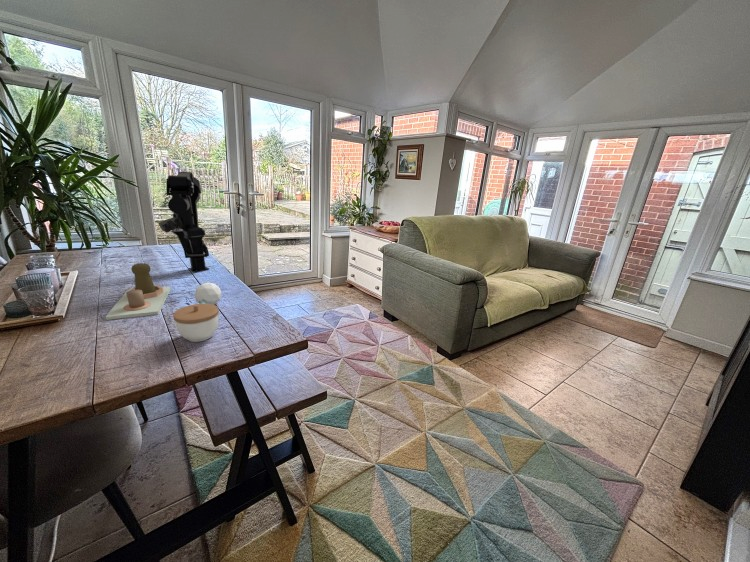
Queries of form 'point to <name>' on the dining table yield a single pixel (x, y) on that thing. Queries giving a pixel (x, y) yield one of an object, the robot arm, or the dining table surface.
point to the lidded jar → (197, 321)
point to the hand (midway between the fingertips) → (189, 250)
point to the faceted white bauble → (207, 293)
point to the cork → (143, 278)
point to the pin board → (142, 312)
